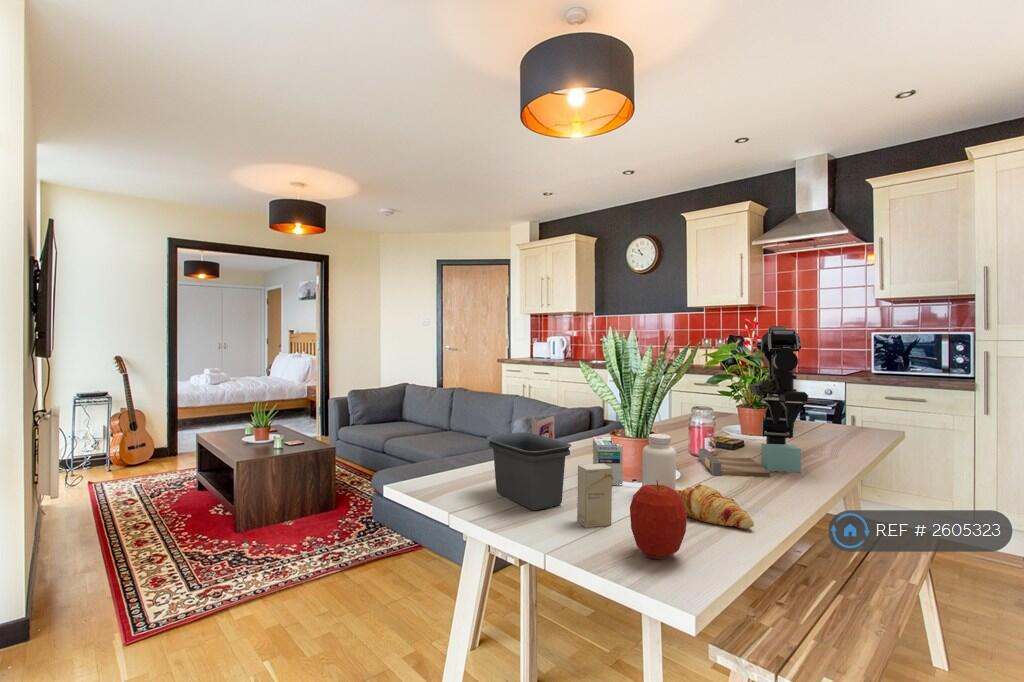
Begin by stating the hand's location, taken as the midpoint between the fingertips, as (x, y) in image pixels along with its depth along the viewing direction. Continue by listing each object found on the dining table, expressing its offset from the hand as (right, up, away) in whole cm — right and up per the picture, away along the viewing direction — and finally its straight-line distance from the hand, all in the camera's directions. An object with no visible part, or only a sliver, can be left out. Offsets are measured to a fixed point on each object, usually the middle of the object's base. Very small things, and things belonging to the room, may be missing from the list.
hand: (782, 425), depth 148 cm
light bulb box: (-53, -14, -10) cm, 56 cm away
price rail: (-20, -13, +3) cm, 24 cm away
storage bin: (-75, -14, -25) cm, 80 cm away
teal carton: (0, -13, +1) cm, 13 cm away
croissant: (-37, -14, -37) cm, 54 cm away
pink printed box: (-72, -13, +2) cm, 73 cm away
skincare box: (-62, -14, -41) cm, 75 cm away
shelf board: (-13, -13, +2) cm, 18 cm away
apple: (-53, -15, -56) cm, 79 cm away
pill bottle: (-43, -14, -23) cm, 51 cm away
